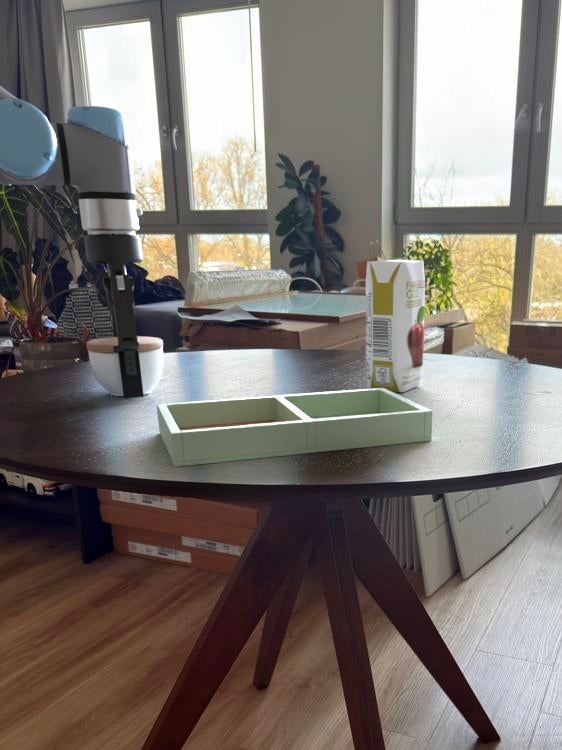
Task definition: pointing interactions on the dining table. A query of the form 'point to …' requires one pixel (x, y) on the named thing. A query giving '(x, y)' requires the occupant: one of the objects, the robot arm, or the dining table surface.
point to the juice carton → (395, 324)
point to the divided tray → (289, 425)
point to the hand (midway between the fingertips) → (131, 390)
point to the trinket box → (109, 367)
